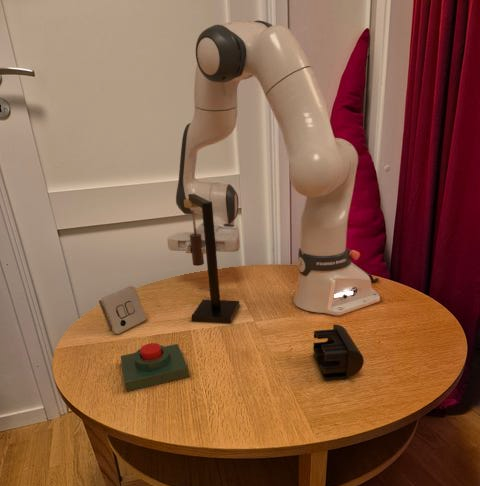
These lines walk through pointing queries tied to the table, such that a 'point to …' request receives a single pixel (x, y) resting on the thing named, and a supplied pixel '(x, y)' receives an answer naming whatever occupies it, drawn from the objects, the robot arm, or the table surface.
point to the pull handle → (196, 245)
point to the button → (151, 351)
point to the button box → (153, 368)
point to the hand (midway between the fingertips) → (196, 250)
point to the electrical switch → (122, 309)
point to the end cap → (337, 354)
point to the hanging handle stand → (211, 271)
